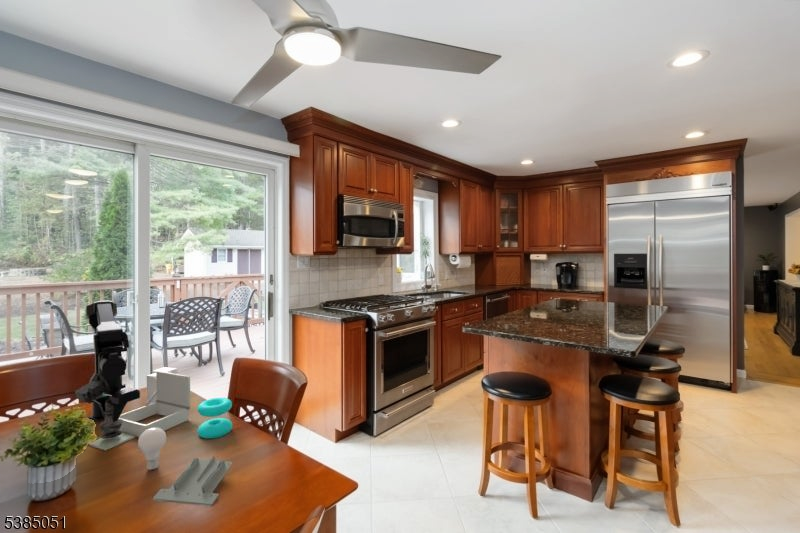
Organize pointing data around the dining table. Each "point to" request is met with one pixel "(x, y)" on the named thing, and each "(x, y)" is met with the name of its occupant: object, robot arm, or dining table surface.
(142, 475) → the dining table surface
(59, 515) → the dining table surface
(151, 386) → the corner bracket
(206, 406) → the donuts
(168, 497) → the metal bracket
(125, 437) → the coaster
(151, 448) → the lightbulb
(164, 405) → the case
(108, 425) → the dark grey chess piece
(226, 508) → the dining table surface
